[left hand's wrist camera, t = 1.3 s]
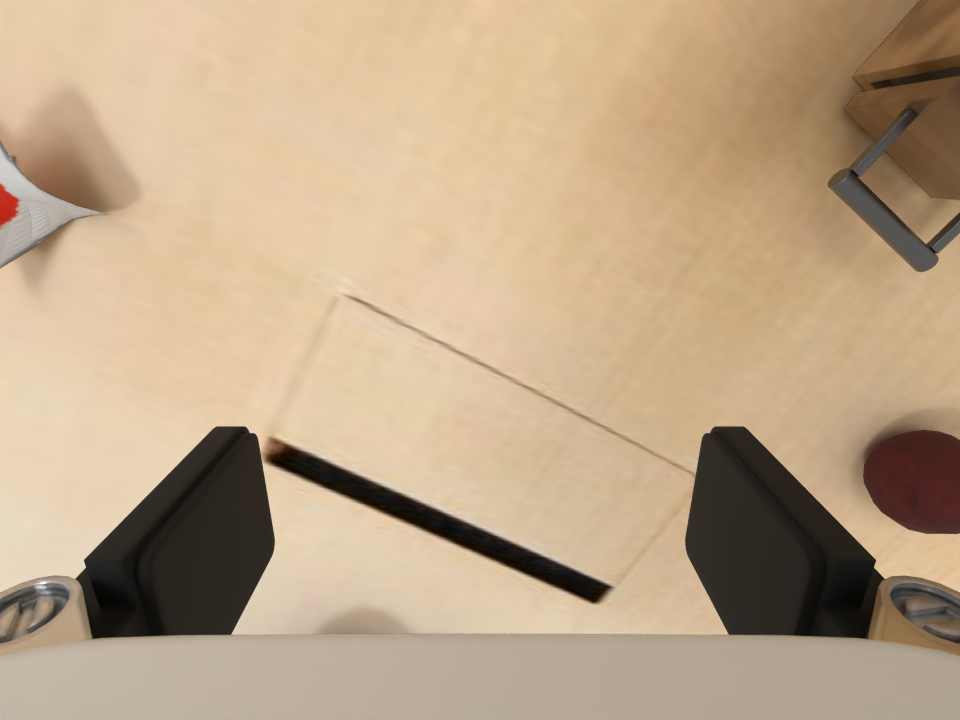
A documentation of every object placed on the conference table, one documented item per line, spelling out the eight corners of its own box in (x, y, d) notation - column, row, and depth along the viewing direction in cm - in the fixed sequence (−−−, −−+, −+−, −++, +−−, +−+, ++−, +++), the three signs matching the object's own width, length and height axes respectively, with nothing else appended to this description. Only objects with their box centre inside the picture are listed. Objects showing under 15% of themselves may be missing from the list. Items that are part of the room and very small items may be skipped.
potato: (924, 497, 44) (1003, 557, 37) (831, 493, 44) (893, 553, 37) (957, 417, 41) (1047, 466, 35) (857, 413, 41) (929, 462, 35)
